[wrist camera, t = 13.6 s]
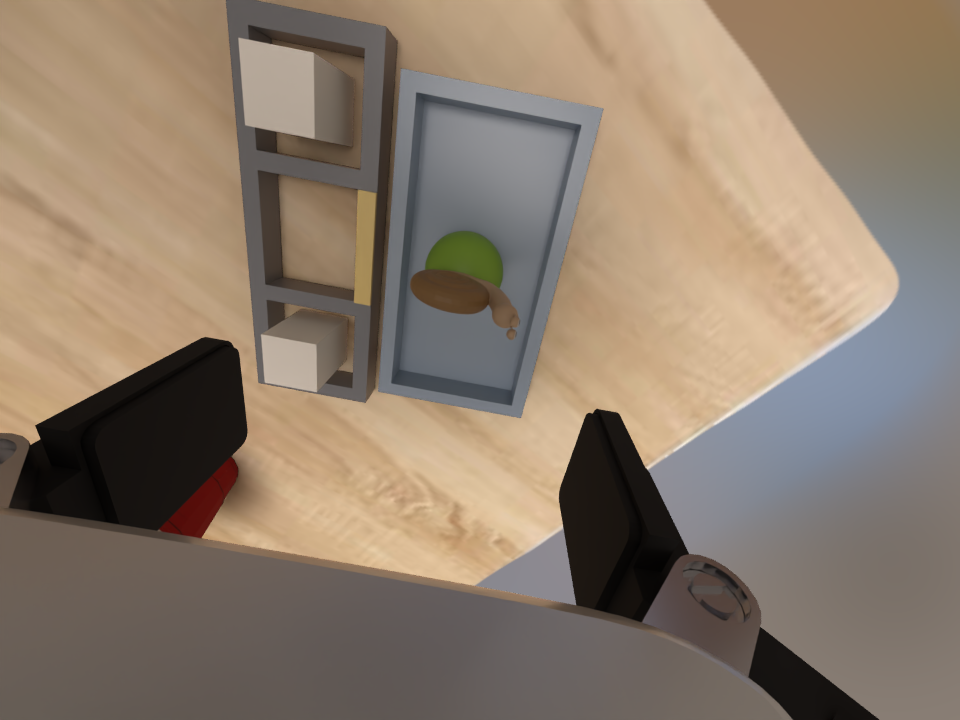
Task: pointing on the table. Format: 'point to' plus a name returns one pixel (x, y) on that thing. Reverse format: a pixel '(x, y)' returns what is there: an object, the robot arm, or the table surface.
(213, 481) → the plastic cup
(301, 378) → the block
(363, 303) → the rack
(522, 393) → the tray
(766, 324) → the table surface
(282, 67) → the block
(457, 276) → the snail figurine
